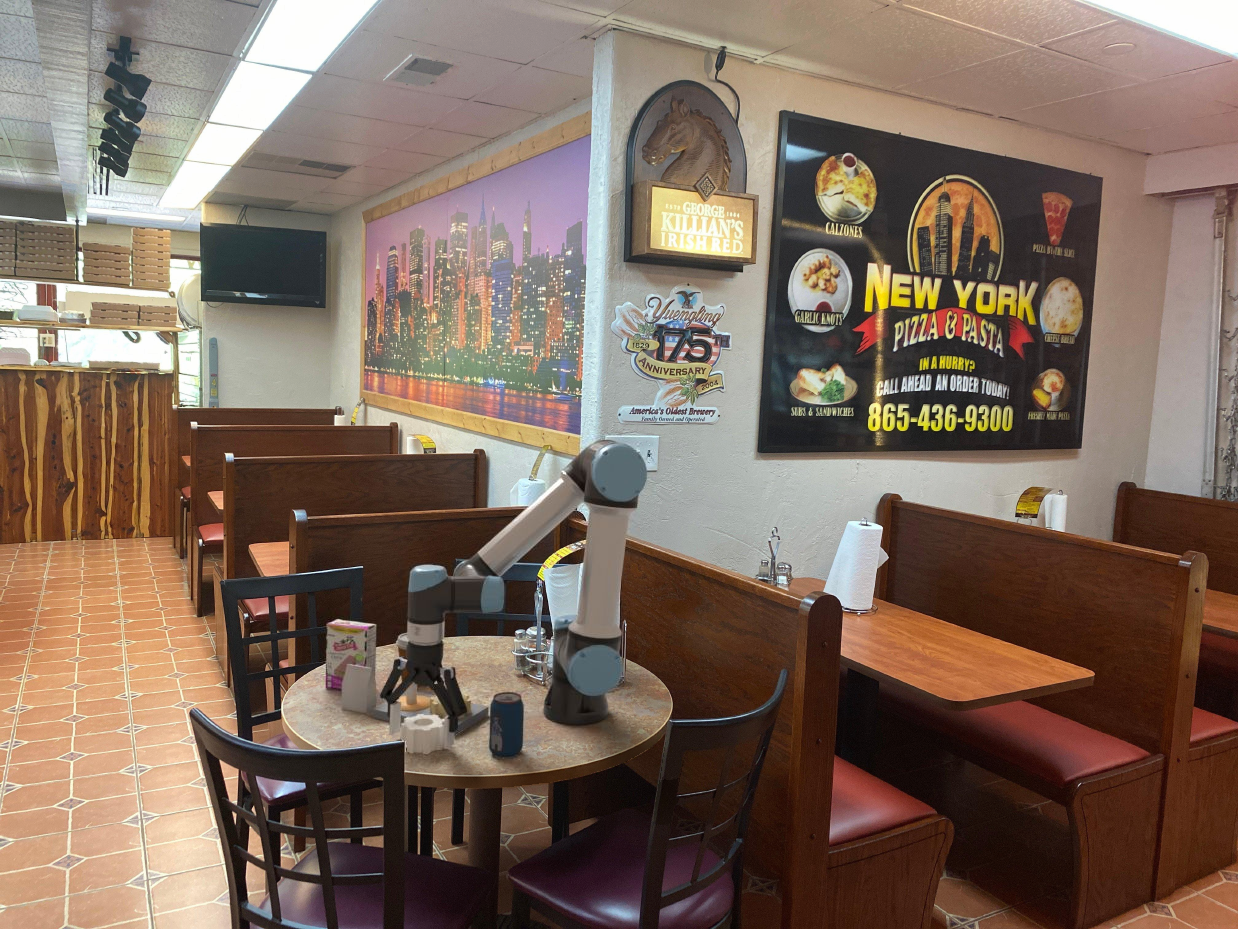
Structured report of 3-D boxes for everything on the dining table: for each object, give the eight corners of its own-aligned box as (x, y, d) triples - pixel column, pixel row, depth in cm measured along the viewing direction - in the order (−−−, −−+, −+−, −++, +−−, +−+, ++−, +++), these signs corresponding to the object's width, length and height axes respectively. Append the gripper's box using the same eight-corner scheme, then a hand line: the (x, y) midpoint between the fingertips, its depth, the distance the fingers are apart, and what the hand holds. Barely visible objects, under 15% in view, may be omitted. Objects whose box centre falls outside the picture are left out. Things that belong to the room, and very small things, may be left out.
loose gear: (453, 741, 187) (453, 719, 187) (428, 757, 179) (428, 733, 178) (418, 733, 191) (418, 711, 190) (392, 748, 182) (392, 725, 182)
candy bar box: (324, 689, 215) (325, 623, 213) (335, 683, 219) (336, 618, 218) (365, 695, 212) (366, 628, 210) (376, 688, 217) (377, 623, 215)
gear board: (488, 715, 203) (489, 681, 202) (454, 736, 190) (454, 700, 189) (409, 698, 211) (410, 665, 211) (371, 717, 199) (372, 682, 198)
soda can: (523, 746, 186) (525, 691, 185) (521, 760, 179) (523, 703, 178) (490, 745, 186) (492, 690, 185) (486, 759, 179) (488, 702, 178)
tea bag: (366, 713, 201) (367, 670, 200) (341, 708, 203) (342, 666, 202) (376, 708, 204) (376, 666, 203) (351, 703, 206) (352, 661, 206)
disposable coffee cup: (424, 691, 216) (425, 644, 215) (388, 687, 218) (389, 640, 217) (440, 679, 225) (441, 633, 224) (405, 675, 227) (406, 629, 226)
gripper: (364, 634, 184) (361, 733, 186) (466, 655, 174) (462, 758, 176) (387, 626, 191) (384, 721, 193) (486, 646, 181) (482, 745, 183)
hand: (421, 739), depth 185 cm, fingers open, 13 cm apart
